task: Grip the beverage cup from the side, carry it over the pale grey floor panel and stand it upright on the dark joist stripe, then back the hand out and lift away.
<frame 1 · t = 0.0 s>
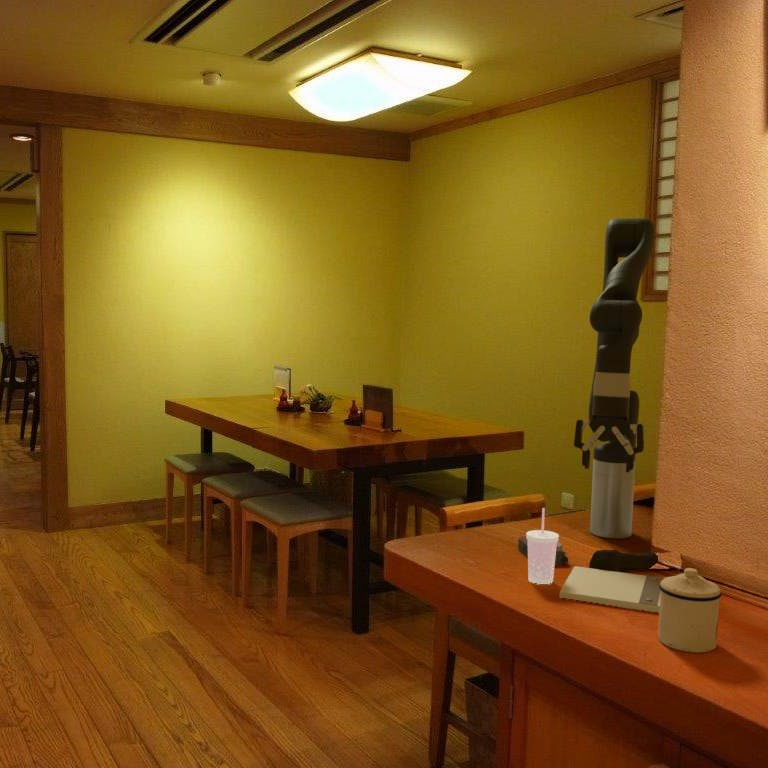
hand: (607, 470, 178), 17 cm above the table, tool pointing down, fingers open, 8 cm apart
teacup with lid: (681, 639, 132), on the table
beverage cup: (540, 581, 158), on the table
floor panel: (633, 594, 152), on the table
hand tool: (635, 573, 165), on the table
walkie-talkie: (540, 553, 177), on the table
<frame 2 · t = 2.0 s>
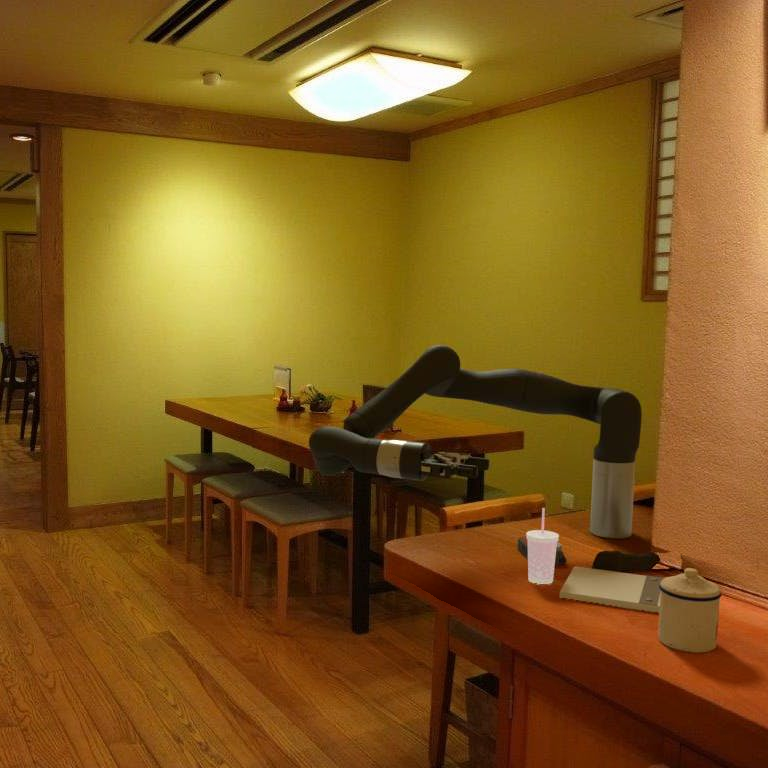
hand: (483, 468, 161), 20 cm above the table, tool horizontal, fingers open, 8 cm apart
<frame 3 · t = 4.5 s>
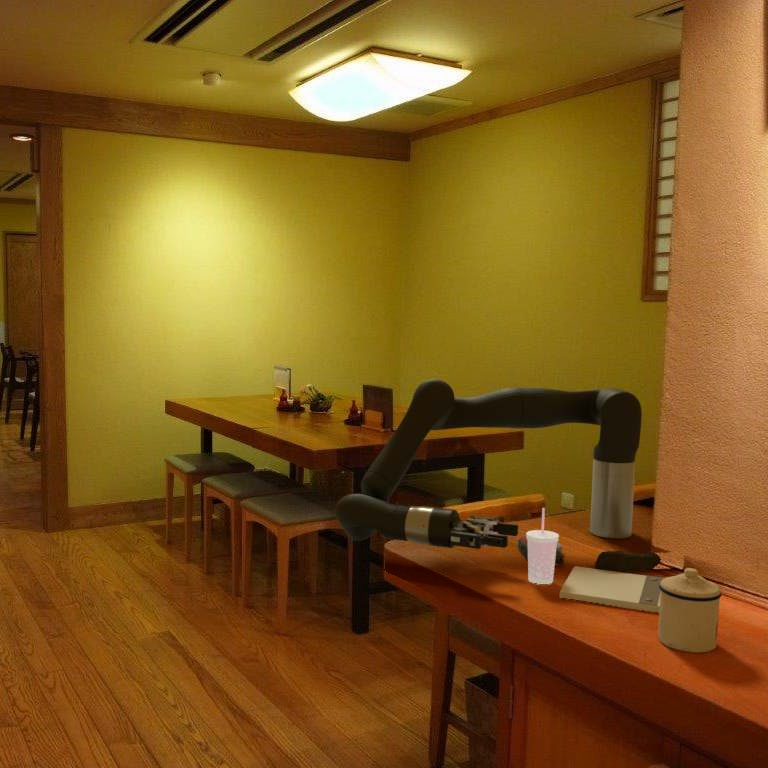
hand: (512, 536, 160), 8 cm above the table, tool horizontal, fingers open, 8 cm apart
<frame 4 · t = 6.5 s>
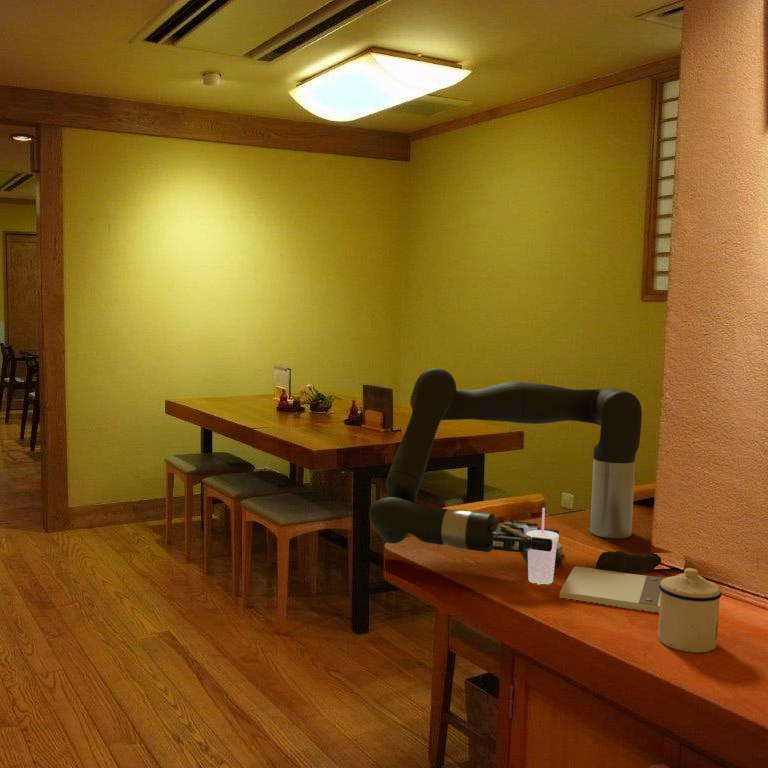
hand: (555, 540, 157), 8 cm above the table, tool horizontal, fingers closed on beverage cup, 6 cm apart
beverage cup: (540, 581, 158), on the table, touching gripper
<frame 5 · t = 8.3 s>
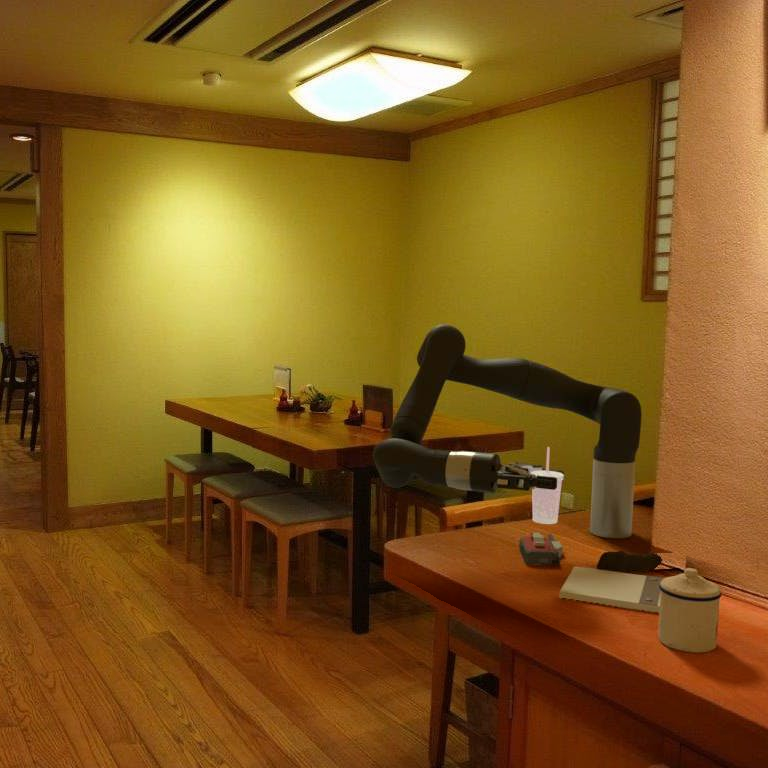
hand: (559, 480, 155), 20 cm above the table, tool horizontal, fingers closed on beverage cup, 6 cm apart
beverage cup: (544, 521, 157), point 11 cm above the table, touching gripper
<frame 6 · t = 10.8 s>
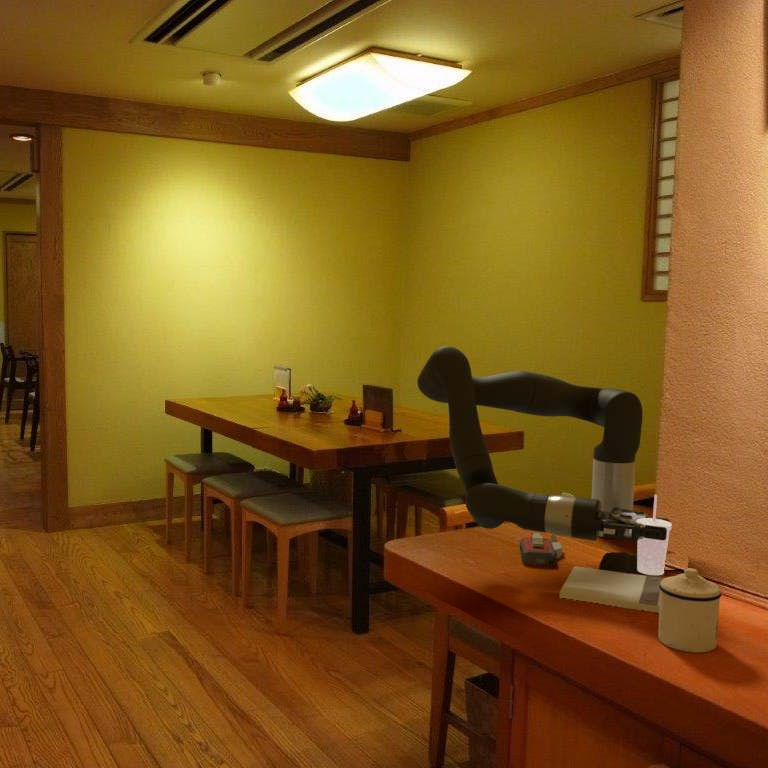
hand: (667, 529, 149), 13 cm above the table, tool horizontal, fingers closed on beverage cup, 6 cm apart
beverage cup: (650, 572, 150), point 5 cm above the table, touching gripper
when the fingers open (10 cm above the table, at t = 11.9 s): beverage cup stays where it is, resting on floor panel.
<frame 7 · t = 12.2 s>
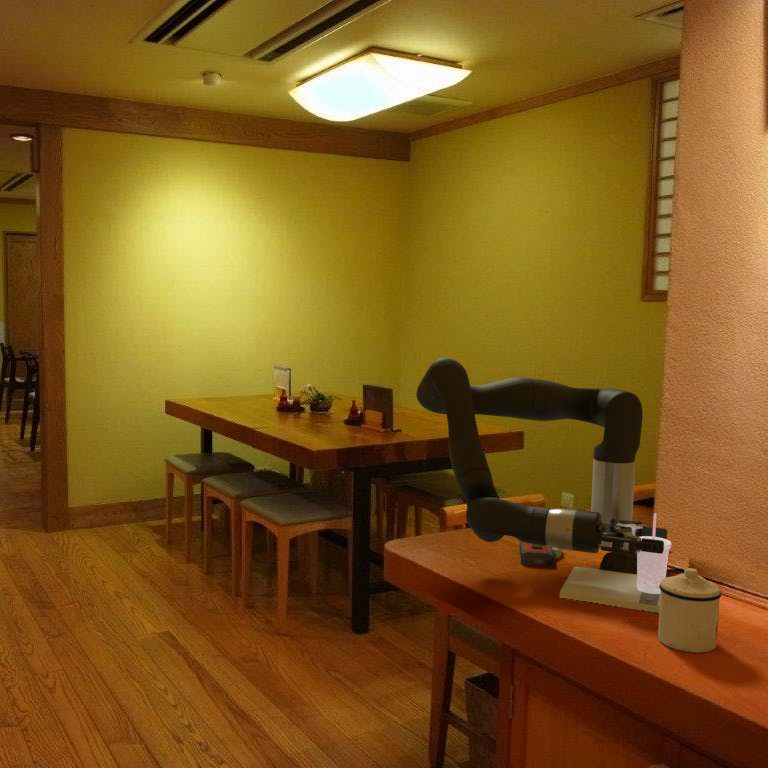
hand: (665, 541, 149), 10 cm above the table, tool horizontal, fingers open, 8 cm apart
beverage cup: (650, 590, 151), point 1 cm above the table, touching floor panel
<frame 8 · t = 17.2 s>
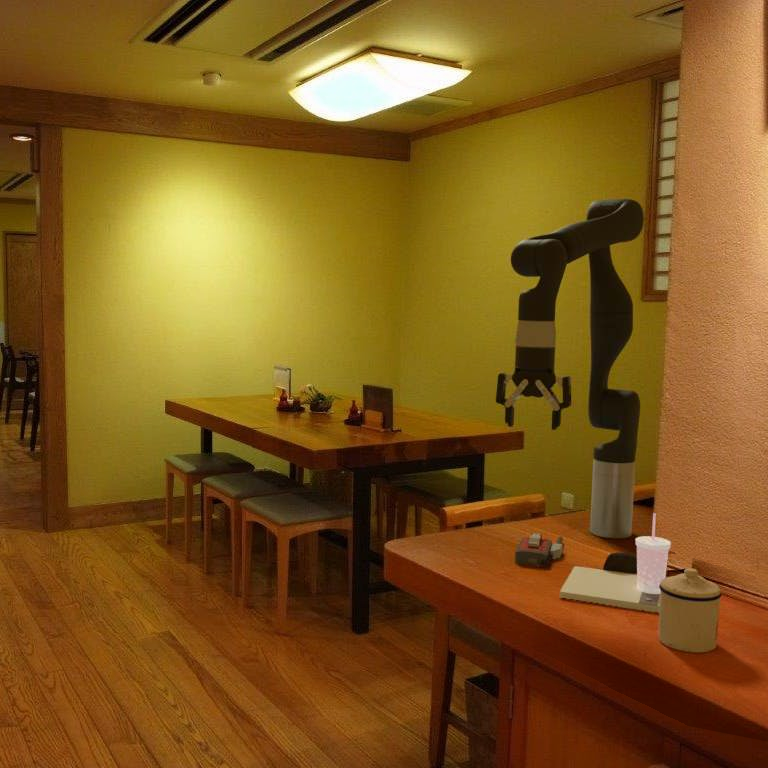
hand: (532, 427, 163), 28 cm above the table, tool pointing down, fingers open, 8 cm apart
at the end: beverage cup 0.2 cm from the target spot, point 1.1 cm above the table; beverage cup tilted 0°; the gripper is holding nothing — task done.
